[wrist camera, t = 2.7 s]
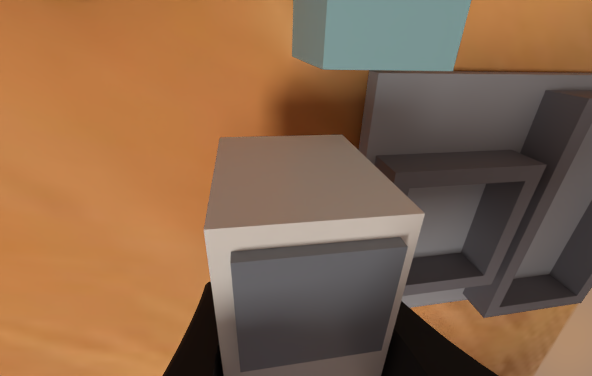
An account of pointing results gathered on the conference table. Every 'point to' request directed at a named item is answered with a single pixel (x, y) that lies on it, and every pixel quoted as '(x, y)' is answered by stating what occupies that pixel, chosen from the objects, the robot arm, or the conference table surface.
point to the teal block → (379, 34)
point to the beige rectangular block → (305, 256)
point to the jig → (489, 182)
